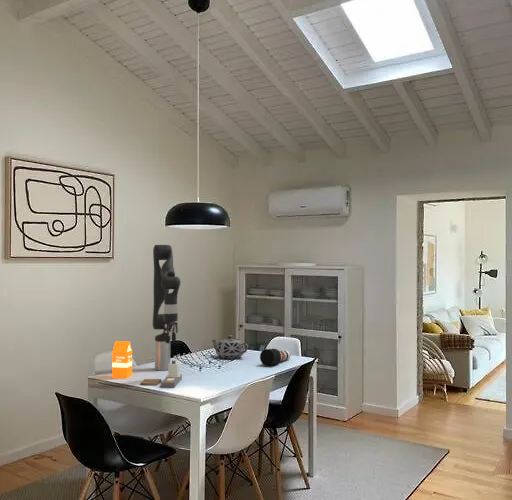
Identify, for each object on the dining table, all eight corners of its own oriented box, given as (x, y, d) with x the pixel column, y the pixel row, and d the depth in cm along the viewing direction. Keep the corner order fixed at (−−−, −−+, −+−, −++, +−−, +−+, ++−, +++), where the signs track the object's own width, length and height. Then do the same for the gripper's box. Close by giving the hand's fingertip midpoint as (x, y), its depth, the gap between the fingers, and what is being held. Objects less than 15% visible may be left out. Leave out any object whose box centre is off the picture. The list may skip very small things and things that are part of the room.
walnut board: (145, 381, 301) (145, 378, 301) (161, 381, 300) (161, 379, 300) (140, 385, 291) (140, 382, 291) (157, 385, 290) (157, 383, 290)
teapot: (217, 353, 392) (218, 332, 392) (255, 357, 376) (255, 335, 377) (202, 357, 375) (202, 335, 376) (240, 361, 360) (240, 338, 360)
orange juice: (117, 375, 316) (117, 340, 316) (132, 375, 315) (132, 340, 315) (111, 378, 308) (112, 342, 309) (126, 378, 307) (127, 342, 307)
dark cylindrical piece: (292, 365, 371) (299, 352, 370) (269, 368, 342) (276, 354, 341) (280, 357, 376) (287, 344, 375) (257, 359, 347) (264, 346, 346)
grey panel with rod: (172, 375, 315) (172, 370, 315) (184, 375, 315) (184, 370, 315) (160, 387, 285) (160, 381, 285) (174, 387, 285) (174, 381, 285)
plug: (169, 375, 303) (169, 360, 303) (178, 375, 303) (178, 360, 303) (168, 377, 299) (168, 361, 299) (177, 377, 299) (177, 361, 299)
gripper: (169, 311, 313) (169, 340, 312) (159, 313, 299) (159, 343, 298) (181, 312, 311) (181, 341, 310) (172, 313, 297) (172, 343, 296)
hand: (170, 342), depth 304 cm, fingers open, 8 cm apart
